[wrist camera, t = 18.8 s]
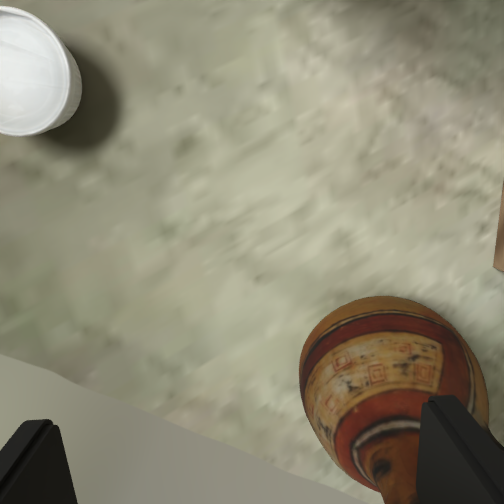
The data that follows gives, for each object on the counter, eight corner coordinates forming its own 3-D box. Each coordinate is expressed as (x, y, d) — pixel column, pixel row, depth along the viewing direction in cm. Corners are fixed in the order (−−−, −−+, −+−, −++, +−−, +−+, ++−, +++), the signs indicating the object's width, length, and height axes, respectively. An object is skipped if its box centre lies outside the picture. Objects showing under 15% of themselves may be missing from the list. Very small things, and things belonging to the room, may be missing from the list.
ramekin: (67, 8, 39) (40, -12, 34) (108, 120, 42) (89, 117, 37) (-34, 41, 39) (-76, 26, 34) (13, 149, 42) (-18, 150, 37)
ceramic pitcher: (297, 281, 47) (375, 499, 19) (457, 284, 48) (778, 501, 19) (289, 414, 53) (340, 742, 24) (433, 416, 53) (653, 740, 24)
